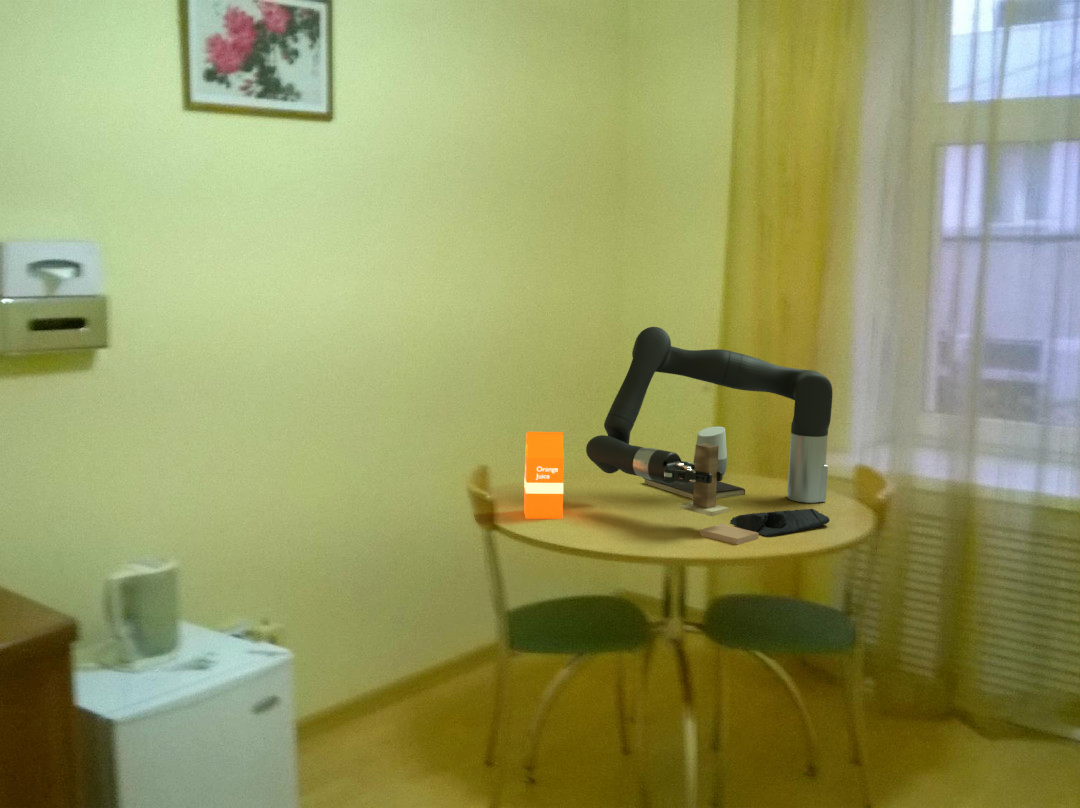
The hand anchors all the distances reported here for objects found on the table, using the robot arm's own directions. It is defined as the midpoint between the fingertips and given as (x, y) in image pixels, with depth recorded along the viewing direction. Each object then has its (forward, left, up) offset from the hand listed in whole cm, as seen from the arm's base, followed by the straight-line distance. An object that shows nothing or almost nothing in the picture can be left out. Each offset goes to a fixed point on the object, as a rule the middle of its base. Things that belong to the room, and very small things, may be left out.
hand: (716, 477), depth 239 cm
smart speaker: (-6, -62, -13) cm, 63 cm away
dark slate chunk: (-17, -9, -13) cm, 23 cm away
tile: (0, 0, -12) cm, 12 cm away
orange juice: (+39, -12, -13) cm, 43 cm away
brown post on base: (+2, -2, -8) cm, 8 cm away
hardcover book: (0, -45, -13) cm, 47 cm away
